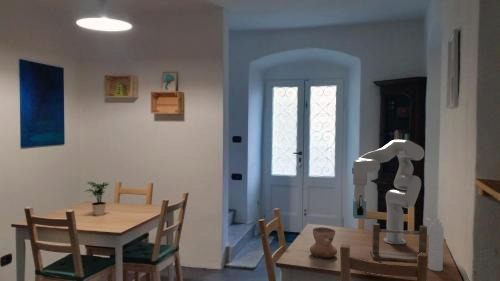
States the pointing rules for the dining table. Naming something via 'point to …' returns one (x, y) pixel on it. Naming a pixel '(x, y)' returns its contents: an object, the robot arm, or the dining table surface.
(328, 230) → the ceramic jug
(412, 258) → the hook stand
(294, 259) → the dining table surface
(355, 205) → the saddle hanger
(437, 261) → the water bottle
